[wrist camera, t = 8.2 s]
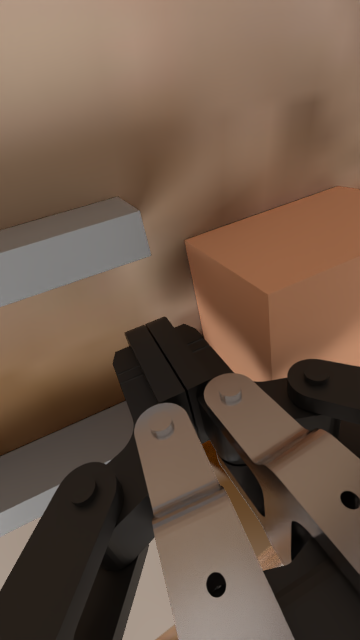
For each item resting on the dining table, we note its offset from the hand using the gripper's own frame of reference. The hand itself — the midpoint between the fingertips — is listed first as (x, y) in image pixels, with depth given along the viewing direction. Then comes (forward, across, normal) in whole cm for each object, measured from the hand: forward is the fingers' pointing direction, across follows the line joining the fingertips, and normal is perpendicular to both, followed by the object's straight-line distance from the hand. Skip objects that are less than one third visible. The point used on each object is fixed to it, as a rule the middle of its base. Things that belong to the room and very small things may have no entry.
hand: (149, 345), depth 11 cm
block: (+2, -6, 0) cm, 6 cm away
